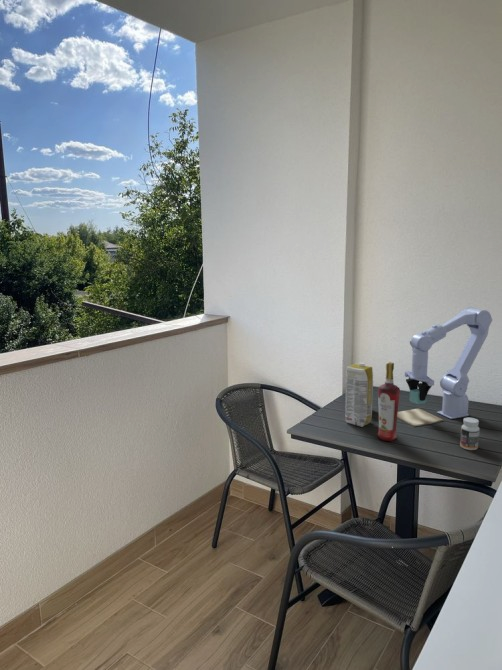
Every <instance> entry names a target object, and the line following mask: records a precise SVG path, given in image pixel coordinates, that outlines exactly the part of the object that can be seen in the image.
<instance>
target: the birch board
mask: <svg viewBox="0 0 502 670" xmlns="http://www.w3.org/2000/svg"><path fill="white" fill-rule="evenodd" d="M397 420H401V421H402V422H404V423H406V424H408V425H410V426H412V427H420V426H424V425H430V424H435V423H440V422H443V421H444V419H443V418H441V417H438V416H436V415H434V414H432V413H429V412H427V411H425V410H423V409H421V408H414V409H413V408H412V409H407V410H402V411H398V413H397Z"/></svg>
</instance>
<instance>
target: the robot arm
mask: <svg viewBox="0 0 502 670" xmlns="http://www.w3.org/2000/svg"><path fill="white" fill-rule="evenodd" d="M492 322H493V318H492V315H491V313H490V311H488V310H487V309H477V308H474V307H472V306H471V307H466V308H465V309H463V310H461V311H460V312H459V313H458V314H457V315H455V316H453V317H452V318H451V319H449V320H448V321H446V322H444V323H443V324H442V325H441V324H433V325H431V327H430V328H428V329H426V330H425V331H422V332H421V333H417V334H414V335H413V336H412V337H411V340H409V344H410V346H411V351H412V356H411V357H412V358H411V359H412V360H411V371H410V370H407V371H404V377H406V379H405V382H406V383H407V386H408V388H409V391H410V390H414V389H419V398H420V401H424V400H425V399H426V396H427V395H428V393H429V392H430V390H431V388H432V387H433V386H434V385H435V380H434V379H432V378H431V377H430V376H428V365H429V361H428V360H429V351H430V350H431V348H432V346H434V344H435V343H438V342H440V341H441V340H443V339H445V338H446V337H447V334H448V333H449V332H451V331H453V330H455V329H458V328H459V327H461V326H464V325H466V326H467V327H468V328H469V330H470V333H471V334H470V336H468V337H469V338H468V340H467V341H466V343H465V346H464V347H463V349H462V351H461V352H460V355H459V357H458V358H457V361H456V363H455V364H454V367H453V368H451V369H449V370H447V372H446V373H445V374H444V375H443V376H442V377H441V379H440V381H439V385H440V388H441V389H442V392H443V393H442V403H441V404H442V406H441V407H442V408H441V410H438V411H436V413H437V414H439V415H441V416H443V417H445V418H448V419H451V420H453V419H458V418H459V419H460V418H465V417H468V416H470V414H469V413H468V411H469V397H468V395H467V393H466V392H467V391H468V387H469V386H468V385H469V383H470V379H469V376H468V373H469V372H470V370H471V367H472V366H473V364H474V362H475V360H476V358H477V356H478V355H479V352H480V350H481V349H482V348H483V345H484V343H485V341H486V339H487V338H488V336H489V329H490V326H491V324H492ZM427 397H428V396H427Z"/></svg>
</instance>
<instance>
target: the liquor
mask: <svg viewBox="0 0 502 670" xmlns="http://www.w3.org/2000/svg"><path fill="white" fill-rule="evenodd" d="M394 366H395V363H394V362H391V361H387V362H385V380H384V383H383V384H380V385H379V386H378V390H377V391H378V392H377V393H378V394H377V395H378V399H377V401H378V402H377V403H378V432H377V434H376V436H378V438H380V440H382V441H385V442H392V441H394V440H395V439H397V438H398V435H397V425H398V418H397V413H398V412H399V403H400V392H401V391H400V389H401V388H400V387H399V386H398V385H396V384H395V383H394V369H395V367H394Z"/></svg>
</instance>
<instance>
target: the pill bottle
mask: <svg viewBox="0 0 502 670" xmlns="http://www.w3.org/2000/svg"><path fill="white" fill-rule="evenodd" d="M462 421H463V424H462V425H461V426H460V428H461V429H460V438H459V439H460V441H459V446H460V447H461V448H462V449H465V450H468V451H475V450H478V448H479V441H480V430H481V429H480V427H479V423H480V421H479V419H478V418H474V417H468V416H467V417H463V420H462Z"/></svg>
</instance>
